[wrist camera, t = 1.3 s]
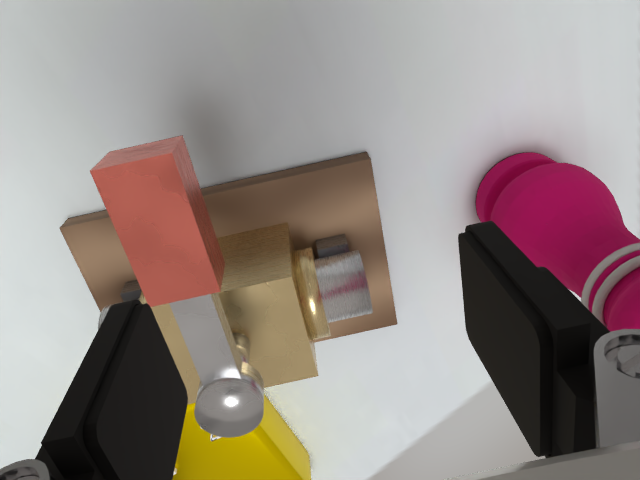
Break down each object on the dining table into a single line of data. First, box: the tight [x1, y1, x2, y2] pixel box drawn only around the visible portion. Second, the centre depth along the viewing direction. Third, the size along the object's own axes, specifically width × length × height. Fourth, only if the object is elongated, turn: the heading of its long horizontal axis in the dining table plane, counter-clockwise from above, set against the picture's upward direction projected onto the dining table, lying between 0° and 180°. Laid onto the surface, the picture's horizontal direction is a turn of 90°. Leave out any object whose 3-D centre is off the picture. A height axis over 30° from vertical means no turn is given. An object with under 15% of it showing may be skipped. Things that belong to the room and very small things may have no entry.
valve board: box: [60, 152, 397, 342], centre depth 35 cm, size 13×20×2 cm, turn 102°
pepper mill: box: [476, 152, 640, 332], centre depth 26 cm, size 7×7×20 cm
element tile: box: [172, 394, 311, 480], centre depth 41 cm, size 15×15×5 cm
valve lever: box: [90, 135, 264, 438], centre depth 22 cm, size 14×3×2 cm, turn 12°
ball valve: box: [98, 222, 373, 405], centre depth 30 cm, size 7×16×10 cm, turn 102°
